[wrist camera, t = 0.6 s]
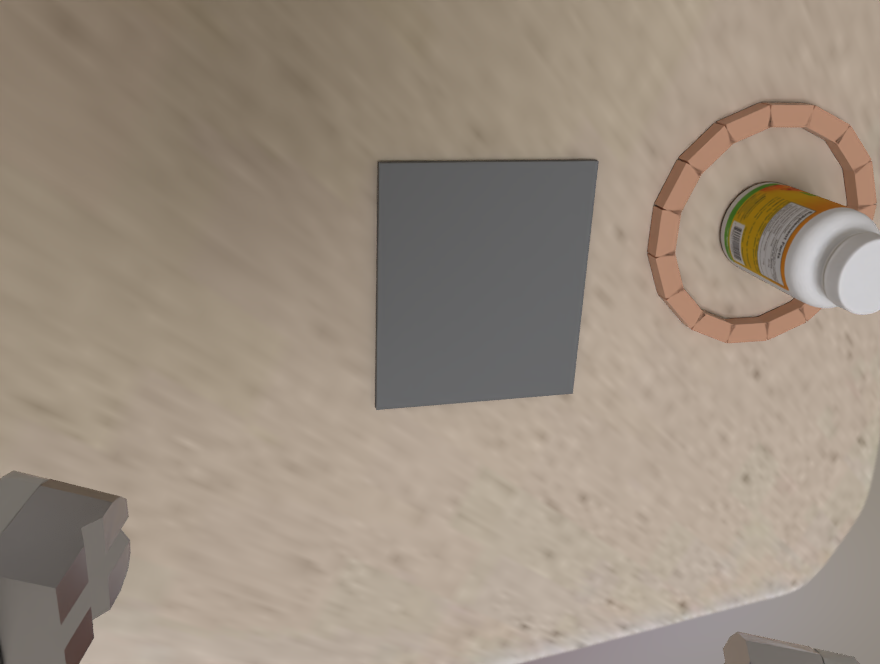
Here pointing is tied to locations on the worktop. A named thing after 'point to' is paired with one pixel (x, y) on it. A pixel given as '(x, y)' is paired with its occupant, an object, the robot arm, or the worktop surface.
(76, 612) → the robot arm
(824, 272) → the supplement bottle
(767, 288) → the worktop surface
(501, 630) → the worktop surface
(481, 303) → the mat
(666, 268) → the segmented terracotta ring
